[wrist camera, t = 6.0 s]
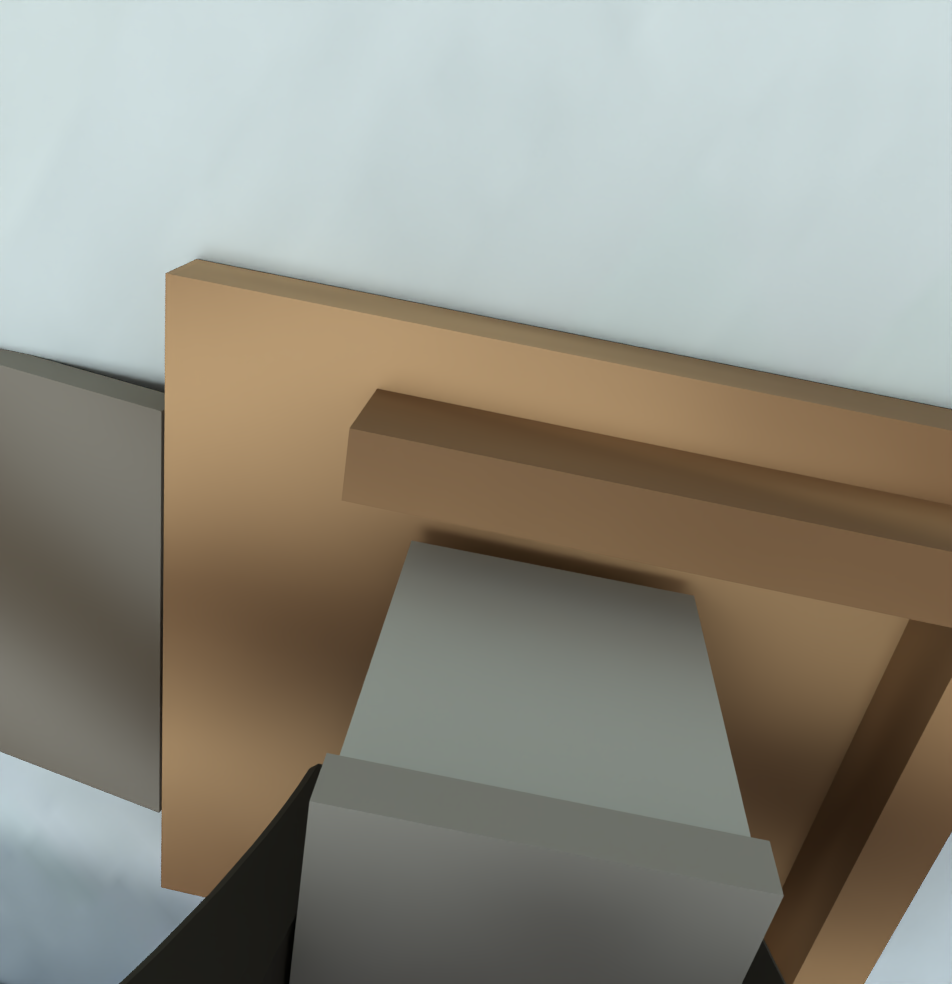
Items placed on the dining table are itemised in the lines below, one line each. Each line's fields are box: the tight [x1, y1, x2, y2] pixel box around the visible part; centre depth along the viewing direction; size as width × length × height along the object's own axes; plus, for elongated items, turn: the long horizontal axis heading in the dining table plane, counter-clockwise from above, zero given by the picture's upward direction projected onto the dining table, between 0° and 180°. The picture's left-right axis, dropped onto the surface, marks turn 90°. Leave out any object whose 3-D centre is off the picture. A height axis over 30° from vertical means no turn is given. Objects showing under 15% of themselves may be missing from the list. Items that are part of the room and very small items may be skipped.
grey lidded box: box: [289, 541, 784, 984], centre depth 11 cm, size 6×4×5 cm
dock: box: [0, 259, 952, 984], centre depth 14 cm, size 12×18×3 cm, turn 80°
